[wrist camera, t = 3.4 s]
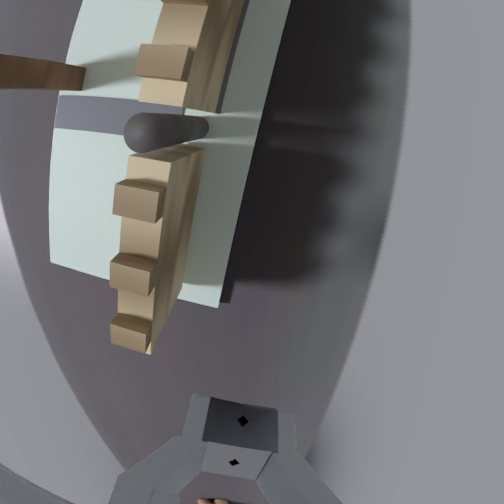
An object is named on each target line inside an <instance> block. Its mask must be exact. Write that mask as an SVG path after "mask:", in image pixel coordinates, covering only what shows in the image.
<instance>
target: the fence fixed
mask: <svg viewBox="0 0 504 504" xmlns="http://www.w3.org/2000/svg"><path fill="white" fill-rule="evenodd" d="M161 1H162V2H163V6H162V9H161V12H160V16H159V19H158V22H157V26H156V29H155V33H154V36H153V40H152V43H151V44H141V45H140V48H139V52H138V56H137V60H136V64H135V68H134V73H133V75H136V76H139V77H142V78H143V80H142V84H141V89H140V94H139V98H138V102H147V103H154V104H161V105H168V106H175V107H181V108H187V109H193V110H199V111H205V112H211V113H215V112H216V107H217V103H218V99H219V94H220V90H221V86H222V82H223V78H224V74H225V70H226V66H227V62H228V58H229V54H230V50H231V47H232V43H233V39H234V36H235V32H236V28H237V25H238V21H239V18H240V14H241V11H242V7H243V4H244V1H245V0H161ZM208 131H209V124H208V122H207V120H206V119H205V118H203V117H200V116H190V115H178V114H164V113H147V112H142V113H137V114H135V115H133V116H132V117H131V118H130V119H129V120H128V121H127V123H126V125H125V128H124V140H125V143H126V145H127V146H128V147H129V148H130V149H131V150H132V151H134V152H136V153H147V152H151V151H154V150H158V149H162V148H165V147H169V146H173V145H177V144H181V143H185V142H189V141H193V140H197V139H201V138H203V137H205V136H206V135H207V133H208Z"/></svg>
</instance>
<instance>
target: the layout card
mask: <svg viewBox="0 0 504 504" xmlns="http://www.w3.org/2000/svg"><path fill="white" fill-rule="evenodd" d="M290 3H291V0H245V1H244V4H243V7H242V11H241V14H240V18H239V21H238V25H237V28H236V32H235V36H234V39H233V43H232V47H231V50H230V54H229V58H228V62H227V66H226V70H225V74H224V78H223V82H222V86H221V90H220V94H219V99H218V103H217V107H216V112H215V113H211V112H205V111H199V110H193V109H187V108H181V107H175V106H168V105H161V104H154V103H147V102H138V98H139V94H140V89H141V84H142V80H143V78H142V77H139V76H136V75H133V73H134V68H135V64H136V60H137V56H138V52H139V48H140V45H141V44H151V43H152V40H153V36H154V33H155V29H156V26H157V22H158V19H159V16H160V12H161V9H162V6H163V2H162V1H161V0H83V3H82V6H81V9H80V12H79V15H78V18H77V21H76V25H75V28H74V32H73V35H72V39H71V43H70V46H69V50H68V54H67V59H66V63H65V64H70V65H75V66H80V67H85V68H86V73H85V77H84V82H83V87H82V91H62V90H60V92H59V98H58V104H57V111H56V118H55V125H54V134H53V143H52V154H51V167H50V186H49V240H50V260H51V262H52V263H55V264H58V265H62V266H65V267H68V268H71V269H74V270H78V271H81V272H84V273H87V274H91V275H94V276H98V277H101V278H104V279H108V280H110V261H111V260H112V259H113V258H114V257H115V256H116V255H117V254H118V253H119V247H120V231H121V218H122V216H118V215H114V214H112V211H113V199H114V189H115V184H116V183H118V182H120V181H122V180H124V179H126V171H127V163H128V156H129V155H132V154H136V152H134V151H132V150H131V149H130V148H129V147H128V146H127V145H126V143H125V140H124V128H125V125H126V123H127V121H128V120H129V119H130V118H131V117H132V116H133V115H135V114H137V113H142V112H147V113H164V114H178V115H190V116H200V117H203V118H205V119H206V120H207V122H208V124H209V131H208V133H207V135H206V136H205V137H203V138H201V139H197V140H193V141H189V142H185V143H182V144H188V145H193V146H198V147H204V148H206V153H205V158H204V163H203V168H202V173H201V178H200V183H199V188H198V194H197V199H196V205H195V210H194V216H193V222H192V228H191V234H190V240H189V246H188V252H187V259H186V266H185V272H184V279H183V286H182V289H181V291H180V293H179V295H178V297H177V298H178V299H182V300H186V301H190V302H194V303H198V304H203V305H207V306H211V307H215V308H218V305H219V301H220V296H221V292H222V287H223V282H224V278H225V273H226V268H227V264H228V259H229V255H230V250H231V246H232V241H233V237H234V232H235V228H236V223H237V219H238V214H239V210H240V205H241V201H242V197H243V192H244V188H245V184H246V179H247V175H248V171H249V166H250V162H251V158H252V154H253V150H254V145H255V141H256V137H257V133H258V129H259V125H260V120H261V116H262V112H263V108H264V104H265V100H266V96H267V92H268V88H269V84H270V80H271V76H272V72H273V68H274V64H275V60H276V56H277V52H278V48H279V45H280V41H281V37H282V33H283V29H284V25H285V22H286V18H287V14H288V10H289V7H290Z"/></svg>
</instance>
